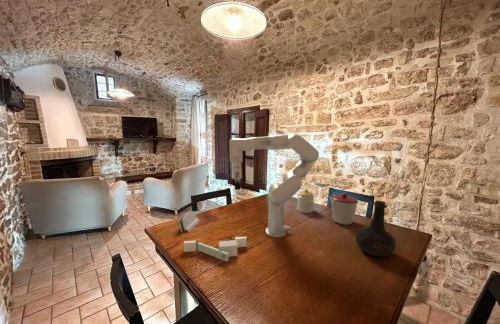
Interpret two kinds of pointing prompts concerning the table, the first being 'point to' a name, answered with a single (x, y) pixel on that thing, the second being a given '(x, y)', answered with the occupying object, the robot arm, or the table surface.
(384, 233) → the glass bottle
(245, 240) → the notched cream block
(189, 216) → the hinge
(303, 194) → the jar
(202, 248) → the door
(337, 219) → the canister
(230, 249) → the block
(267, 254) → the table surface
